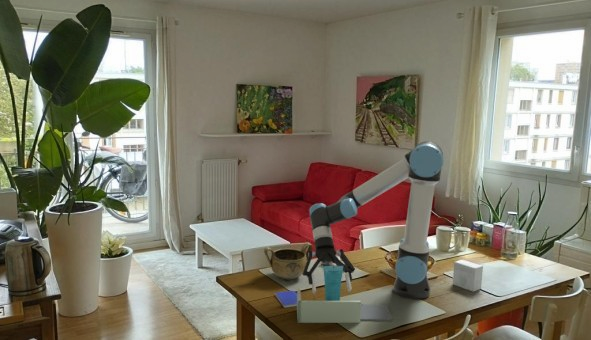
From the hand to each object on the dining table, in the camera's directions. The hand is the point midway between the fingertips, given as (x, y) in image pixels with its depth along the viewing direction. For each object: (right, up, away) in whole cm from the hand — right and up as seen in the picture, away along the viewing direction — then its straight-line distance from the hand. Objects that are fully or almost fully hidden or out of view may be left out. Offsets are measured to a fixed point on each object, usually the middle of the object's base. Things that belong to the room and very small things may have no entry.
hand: (332, 291), depth 176 cm
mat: (+16, -9, +4) cm, 19 cm away
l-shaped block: (-2, -10, +2) cm, 10 cm away
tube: (0, -10, +3) cm, 10 cm away
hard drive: (-16, -8, +15) cm, 24 cm away
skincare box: (+61, -6, +31) cm, 69 cm away
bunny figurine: (+5, -2, +53) cm, 53 cm away
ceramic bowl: (-17, -4, +39) cm, 43 cm away
